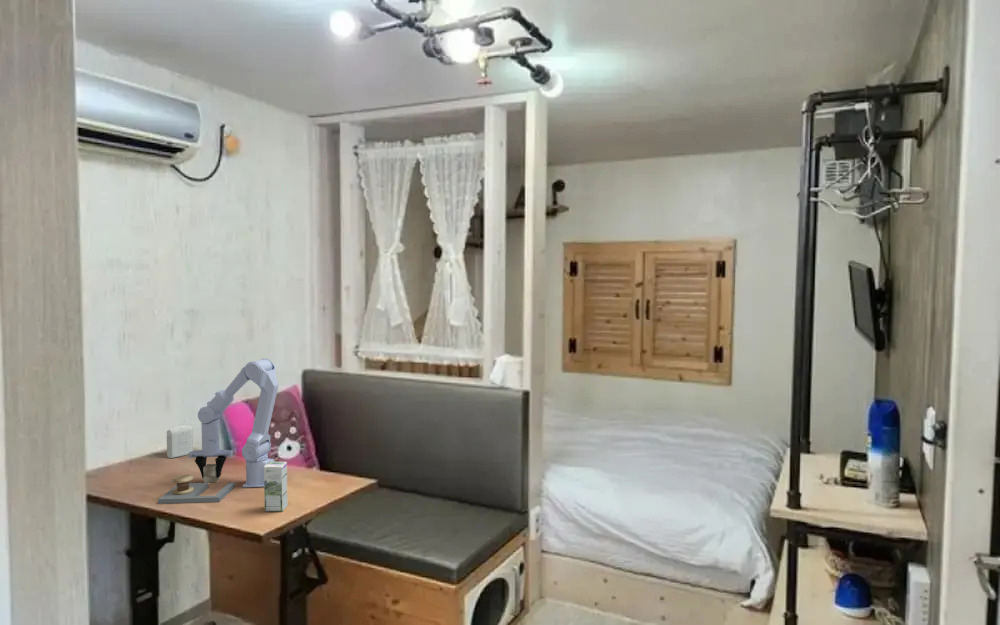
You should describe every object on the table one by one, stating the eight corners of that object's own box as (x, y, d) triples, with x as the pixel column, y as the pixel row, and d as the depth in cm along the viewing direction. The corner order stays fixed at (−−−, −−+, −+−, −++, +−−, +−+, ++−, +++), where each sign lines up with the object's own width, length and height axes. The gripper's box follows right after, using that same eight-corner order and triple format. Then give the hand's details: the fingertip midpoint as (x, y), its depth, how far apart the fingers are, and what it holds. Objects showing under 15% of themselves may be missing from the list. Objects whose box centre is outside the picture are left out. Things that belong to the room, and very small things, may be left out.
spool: (196, 488, 219) (196, 474, 219) (189, 494, 213) (188, 480, 213) (177, 488, 219) (176, 475, 219) (169, 495, 212) (168, 481, 212)
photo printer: (189, 452, 271) (188, 422, 271) (195, 453, 269) (194, 424, 268) (165, 457, 263) (164, 427, 262) (171, 459, 260) (170, 428, 260)
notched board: (235, 486, 226) (235, 482, 226) (219, 502, 210) (219, 497, 210) (178, 487, 224) (178, 483, 224) (158, 503, 209) (158, 499, 208)
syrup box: (288, 505, 207) (287, 460, 206) (282, 512, 201) (281, 466, 200) (270, 505, 207) (269, 460, 206) (263, 512, 201) (263, 466, 200)
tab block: (219, 480, 233) (218, 463, 233) (215, 483, 229) (215, 466, 229) (207, 480, 233) (207, 464, 233) (203, 483, 229) (203, 467, 229)
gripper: (235, 436, 235) (236, 472, 236) (193, 436, 234) (194, 473, 234) (228, 440, 228) (229, 478, 229) (186, 441, 227) (187, 479, 227)
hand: (211, 476), depth 231 cm, fingers open, 4 cm apart
